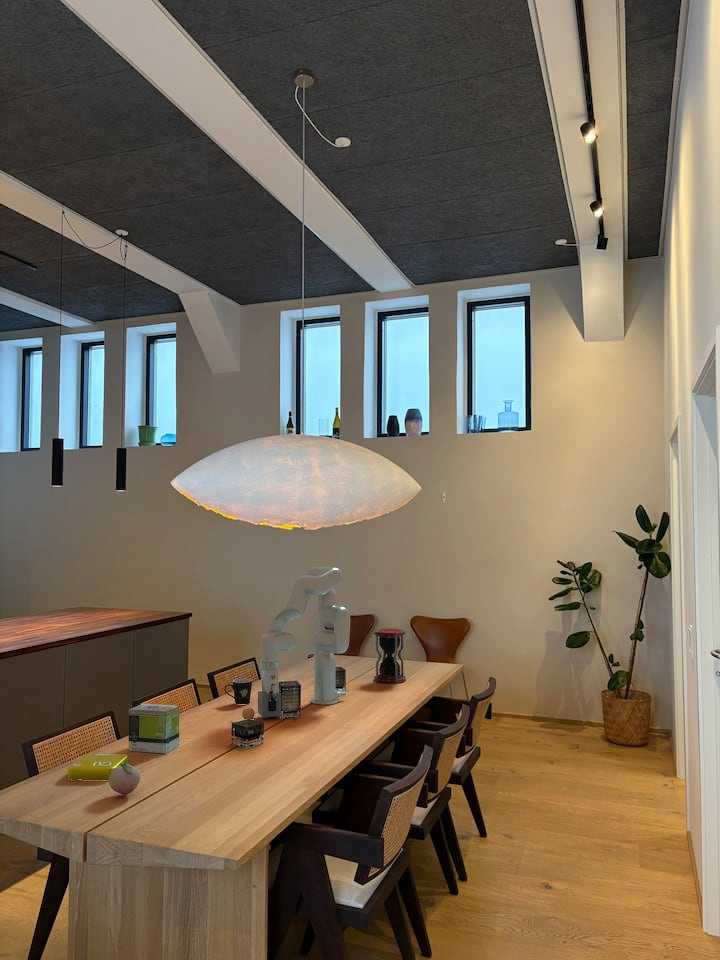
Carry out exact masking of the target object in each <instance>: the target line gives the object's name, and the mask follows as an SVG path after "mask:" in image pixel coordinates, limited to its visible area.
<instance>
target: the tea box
mask: <svg viewBox="0 0 720 960" xmlns="http://www.w3.org/2000/svg"><path fill="white" fill-rule="evenodd" d="M179 746H180V705H179V704H160V703H157V704H156V703H141V704H139V705H137V706H135V707H132V708H130V709H128V751H130V752H141V753H151V754H152V753H154V754H168V753H170V752H172V751H173V750H175V749H177V748H178V747H179Z"/></svg>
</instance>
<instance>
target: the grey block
mask: <svg viewBox="0 0 720 960" xmlns="http://www.w3.org/2000/svg"><path fill="white" fill-rule="evenodd" d="M270 696H272V695H270ZM268 701H269V695H267V694H266V693H265V692H264V691H263V690H258V691H257V714H258V715H259V716H260V717H261V718H270V717H280V716H281V717H282V693H281V692H280V694H279V693H278V694H276V711H268Z"/></svg>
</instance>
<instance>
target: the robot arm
mask: <svg viewBox="0 0 720 960" xmlns="http://www.w3.org/2000/svg"><path fill="white" fill-rule="evenodd" d="M342 581H343V573H342V571H341V570H340V569H339V568H337V567H333V566H332V567H331V566H330V567H329V566H312V567H310V568H309V569H308V571H307V575H300V576H298V577H297V578H296V579H295V580H294V583H293V584H292V585H293V586H292V589H291V591H290V593H289V596H288V598H287V601H286V603H285V606H284V607H282V609H280V610H279V611H278V612H277V613H276V614H275V615H274V617H272V618H271V621H269V622H270V623H269V624H268V626H267V629H266V632H265V634H262V636H260V640H259V641H260V644H259V647H260V648H259V649H260V654H259V656H260V658H259V659H260V660H259V661H260V662H259V663H260V665H259V667H260V668H259V669H260V670H261V671H262V672H261V691H264V692H265V693H266V694H267V695H269V701H268V711H276V694H278V693H279V692H280V688H279V687H280V686H279V684H280V683H279V671H278V669H279V668H280V666H279V662H280V660H279V659H280V658H279V656H280V653H279V652H290V651H292V650H293V649H295V647H296V646H297V643H298V642H297V638H296V636H295V635H294V634H292V633H291V632H287V631H282V629H283V628H284V626H286V625H287V623H289V622H291V621H292V620H294V619H297V618H299V617H300V616H303V615H304V614H305V611H306V608H307V606H308V603H309V600H310V597H311V596H312V597H317V603H316V604H317V606H316V623H317V624H318V625H319V626H321V627H326V628H332V629H333V630H329V629H319V630H316V631H315V632H314V633H313V635H312V638H311V646H312V649H313V651H312V652H313V658H314V660H313V661H314V662H313V663H314V665H313V666H314V667H313V672H314V676H313V677H314V680H313V682H314V683H313V684H314V685H313V687H314V688H313V690H314V691H313V692H314V693H313V697H311V698H310V703H312V704H315V705H322V706H323V705H325V706H326V705H334V704H338V703H339V702H340V697H346V696H347V691H341V690H339V691H338V690H336V687H337V685H336V684H337V682H336V669H337V668H336V664H337V663H336V657H335V654H344V653H345V652H347V650H348V649H349V646H350V645H349V644H350V636H351V634H350V633H351V615H350V612H349V610H348V609H347V608H346V607H345V606H337V591H336V589H335V588H337V587H338V586H339V585H340V584H341V583H342ZM270 695H272V696H270Z"/></svg>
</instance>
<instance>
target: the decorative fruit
mask: <svg viewBox="0 0 720 960" xmlns="http://www.w3.org/2000/svg"><path fill="white" fill-rule="evenodd" d="M140 781H141V773H140V772H139V770H138V768H136V767H135V766H132V765H131V764H129V763H126V761H125V762H123V763H119V766H117V767H116V768H114V769H113V770H112V771H111V773H110V775H109V781H108V783H109V784H108V785H109V787H110V788H111V790H113V792H116V793H118V794H119V795H122V796H124V795H126V796H128V795H130V794H131V793H133V792H134V791H135V790H136V789H137V787H138V785H139V783H140Z"/></svg>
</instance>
